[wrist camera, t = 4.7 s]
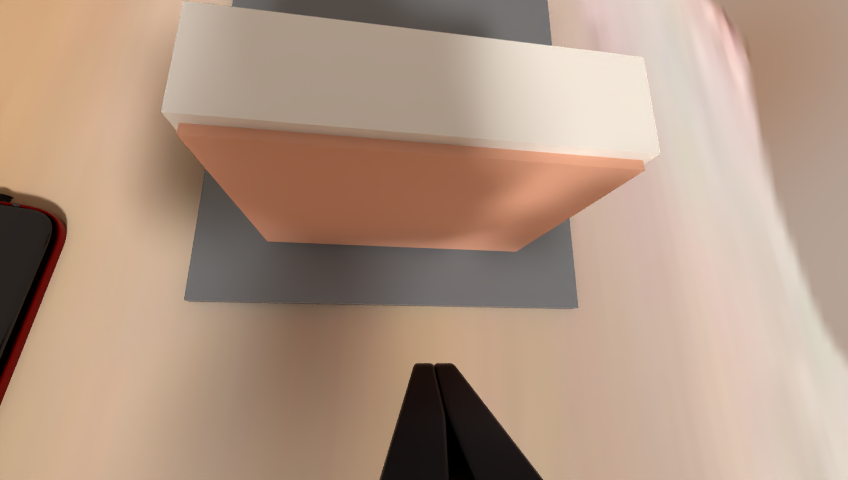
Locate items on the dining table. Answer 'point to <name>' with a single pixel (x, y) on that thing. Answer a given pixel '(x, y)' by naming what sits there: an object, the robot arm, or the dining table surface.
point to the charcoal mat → (382, 265)
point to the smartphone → (23, 274)
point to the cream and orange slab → (402, 128)
